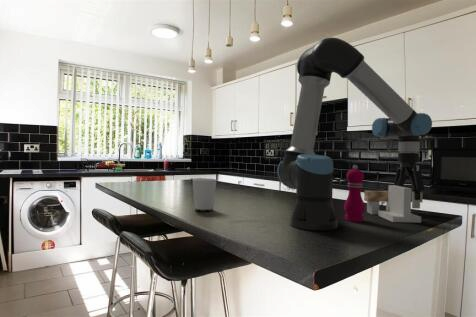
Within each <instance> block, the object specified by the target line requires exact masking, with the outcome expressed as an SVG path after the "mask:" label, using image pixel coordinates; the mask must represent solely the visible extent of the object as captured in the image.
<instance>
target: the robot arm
mask: <svg viewBox="0 0 476 317" xmlns="http://www.w3.org/2000/svg"><path fill="white" fill-rule="evenodd" d="M296 72H297V73H298V83H300V85H301V87H300V92H299V96H298V103H297V107H296V113H295V118H294V124H293V130H292V134H291V140H290V146H289V147H288V148H287V149H285V150H284V154H283V159H282V160H281V161H280V162H279V164H278V166H277V168H276V173H277V177H278V180H279V181H280V183H281V184H283V186H285V187H287V188H288V189H291V190H292V189H293V190H295V191H296V192H295V203H294V205H293V206H294V207H293V210H292V212H291V215H290V221H289V222H290V225H291V226H292V227H294V228H297V229H301V230H307V231H309V230H310V231H330V230H331V231H332V230H335V229H338V218H337V215H336V212H335V208H334V204H333V187H334V186H333V182H334V178H333V177H334V163H333V162H334V161H333V159H332V157H329V156H328V155H321V154H316V153H315V152H314V148H315V142H316V136H317V131H318V127H319V120H320V115H321V109H322V104H323V100H324V99H323V98H324V94H325V89H326V88H327V87H329V85H330V84H331V80H332V79H331V78H332V74H333V73H335V74H336V75H338V76H339V77H341V79H347V80H349V82H350V83H352V85H354V86H355V88H357V90H359V91H360V93H361V94H363V95H364V96H365V97H366V98H367V99H368V100H369V101H370V102H372V104H374V105H375V107H377V108H378V109H379V110H380V111H381V112H382V113H383V114H384V115H385V116H386V117H387V118H386V117H378V118H375V120H374V121H373V123H372V125H371V132H372V134H373V136H375V137H377V138H398V146H397V147H398V149H397V150H398V152H399V153H398V157H397V160H398V162H399V163H401V164H397V166H396V173H395V177H394V182H393V185H396V186H401V187H405V186H404V185H405V183H406V180H407V178H409V181H410V184H411V187H412V189H411V191H412V202H411V209H419V210H420V208H421V202H420V192H423V191H425V185H424V180H423V174H422V166H421V165H417V164H416V163H419V162H420V153H419V152H420V147H421V145H420V142H421V141H420V136H422V135H426V134H428V133H429V132H430V131H431V130H432V128H433V127H432V126H433V120H432V118H431V116H430V115H429V114H427V113H425V112H424V113H423V112H422V113H421V112H417V111H415V109H413V108H412V107H411V105H409V104H408V103H407V102H406V100H404V98H403V97H402V96H400V95H399V93H398V92H396V91H395V89H393V88H392V87H391V86H390V85H389V84H388V83H387V82H386V81H385V80H384V79H383V78H382V77H381V76H380V75H379V74H378V73H377V72H376V71H375V70H374V69H373V68H372V67H371V66H370V65H369V64H368V63H367V62H366V61H365V56H364V54H362V53H361V52H360V51H359V50H358V49H357V48H356V47H354V46H353V45H352V44H350V43H349V42H347V41H345V40H343V39H341V38H338V37H325V38H323V39H321V40H320V41H318V42H317V43H315V44H314V45H313V46H311V47H309V48H308V49H306V50H305V51H304V52H303V53H302V54H301V55H300V56H299V57H298V59H297V63H296Z"/></svg>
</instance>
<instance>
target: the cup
mask: <svg viewBox="0 0 476 317" xmlns="http://www.w3.org/2000/svg"><path fill="white" fill-rule="evenodd" d="M216 187H217V179H216V178H206V177H205V178H204V177H203V178H193V179H192V192H193V203H194V204H193V205H194V211H196V212H199V210H200V212H201V211H204V212H205V211H206V212H212V211H213V210H214V207H215V206H214V205H215V198H216V197H215V196H216ZM212 209H213V210H212Z"/></svg>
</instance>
